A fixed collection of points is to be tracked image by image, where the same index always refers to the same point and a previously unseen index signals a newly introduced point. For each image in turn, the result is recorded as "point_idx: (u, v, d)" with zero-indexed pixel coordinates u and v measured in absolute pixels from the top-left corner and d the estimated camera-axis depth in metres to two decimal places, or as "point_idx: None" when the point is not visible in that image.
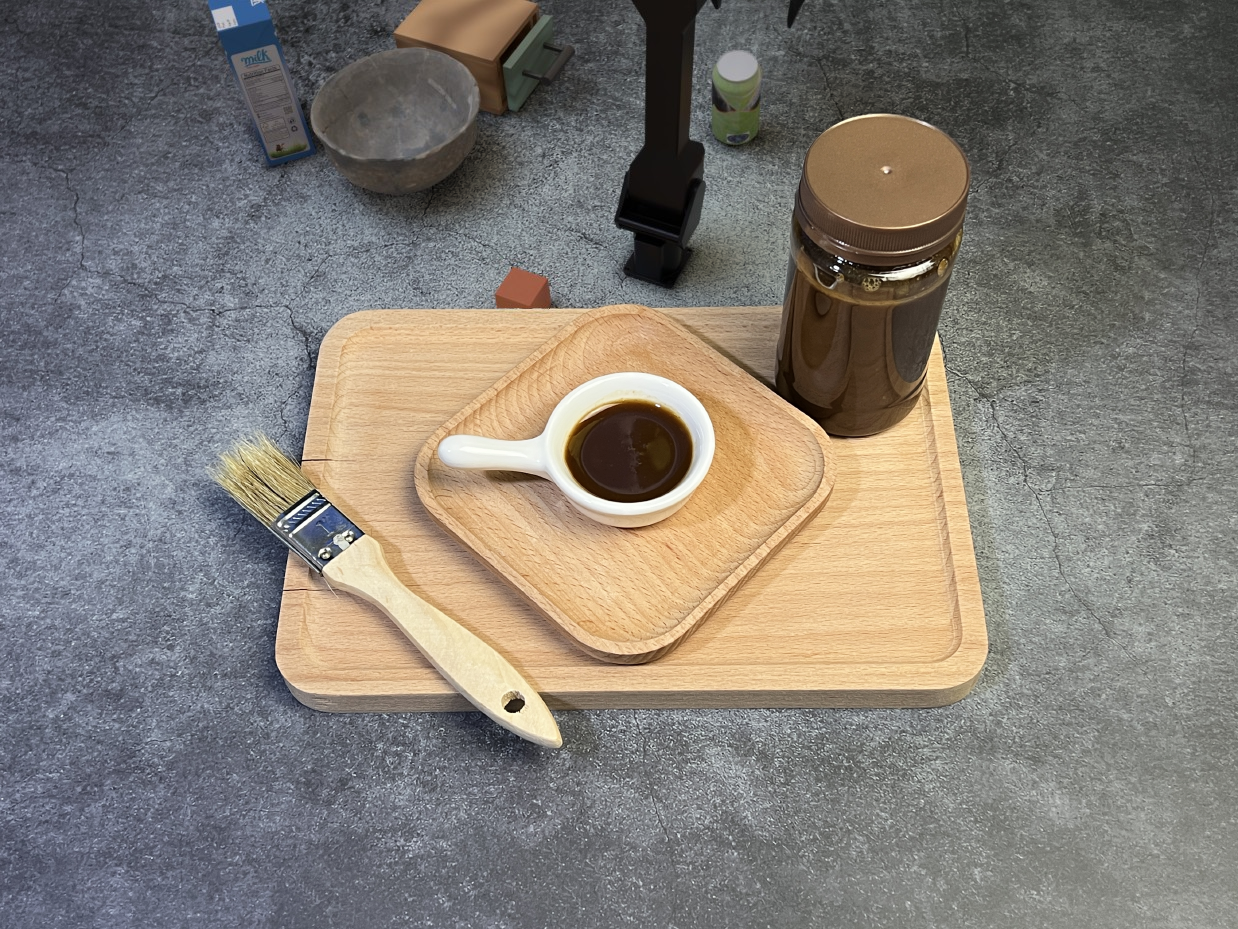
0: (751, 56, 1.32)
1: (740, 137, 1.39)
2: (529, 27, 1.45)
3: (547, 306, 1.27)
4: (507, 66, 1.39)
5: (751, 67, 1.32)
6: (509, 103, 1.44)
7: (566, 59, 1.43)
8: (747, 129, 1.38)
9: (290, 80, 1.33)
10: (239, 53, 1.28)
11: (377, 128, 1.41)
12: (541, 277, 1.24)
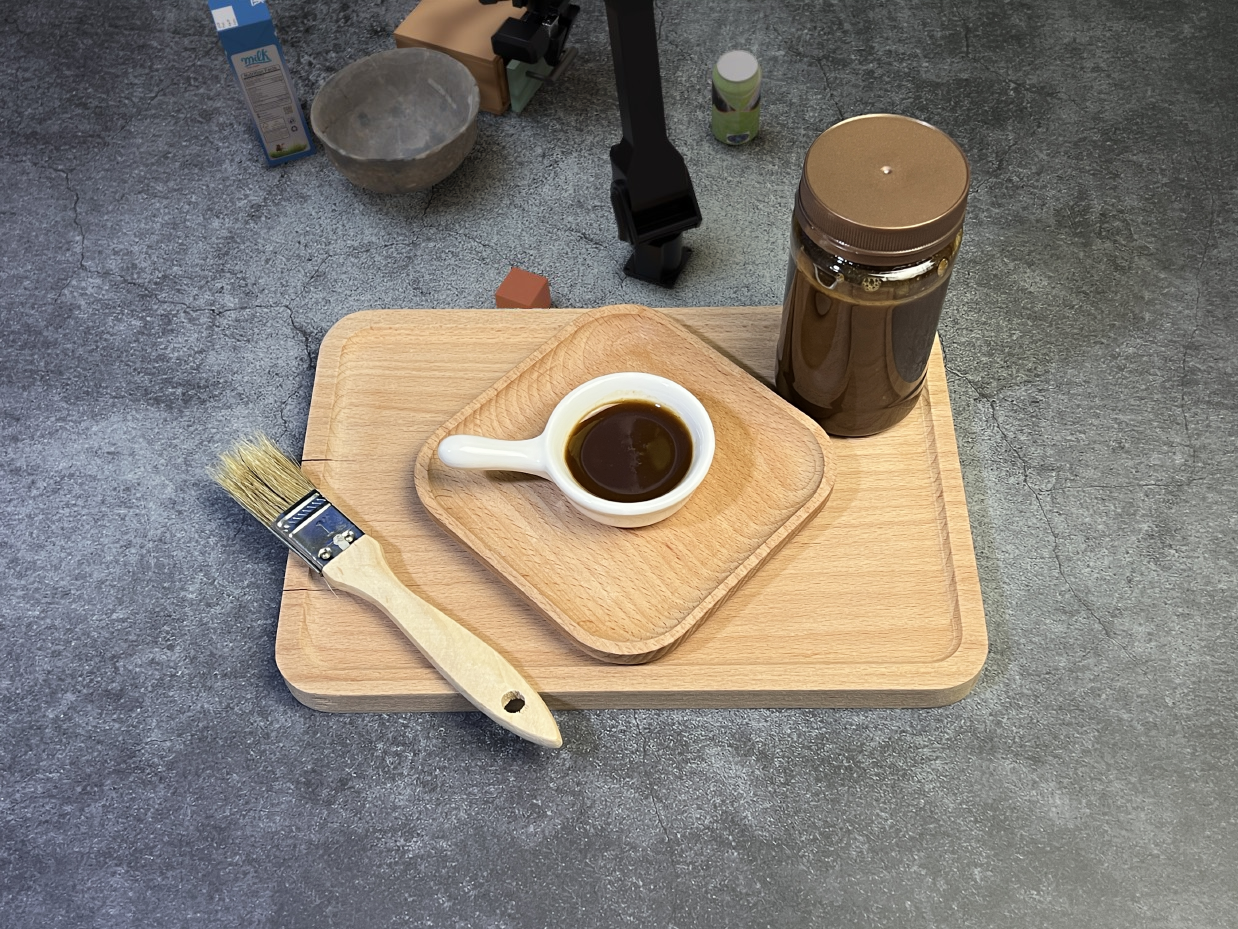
0: (751, 56, 1.32)
1: (740, 137, 1.39)
2: None
3: (547, 306, 1.27)
4: (511, 67, 1.39)
5: (751, 67, 1.32)
6: (512, 104, 1.44)
7: (570, 60, 1.43)
8: (747, 129, 1.38)
9: (290, 80, 1.33)
10: (239, 53, 1.28)
11: (377, 128, 1.41)
12: (541, 277, 1.24)
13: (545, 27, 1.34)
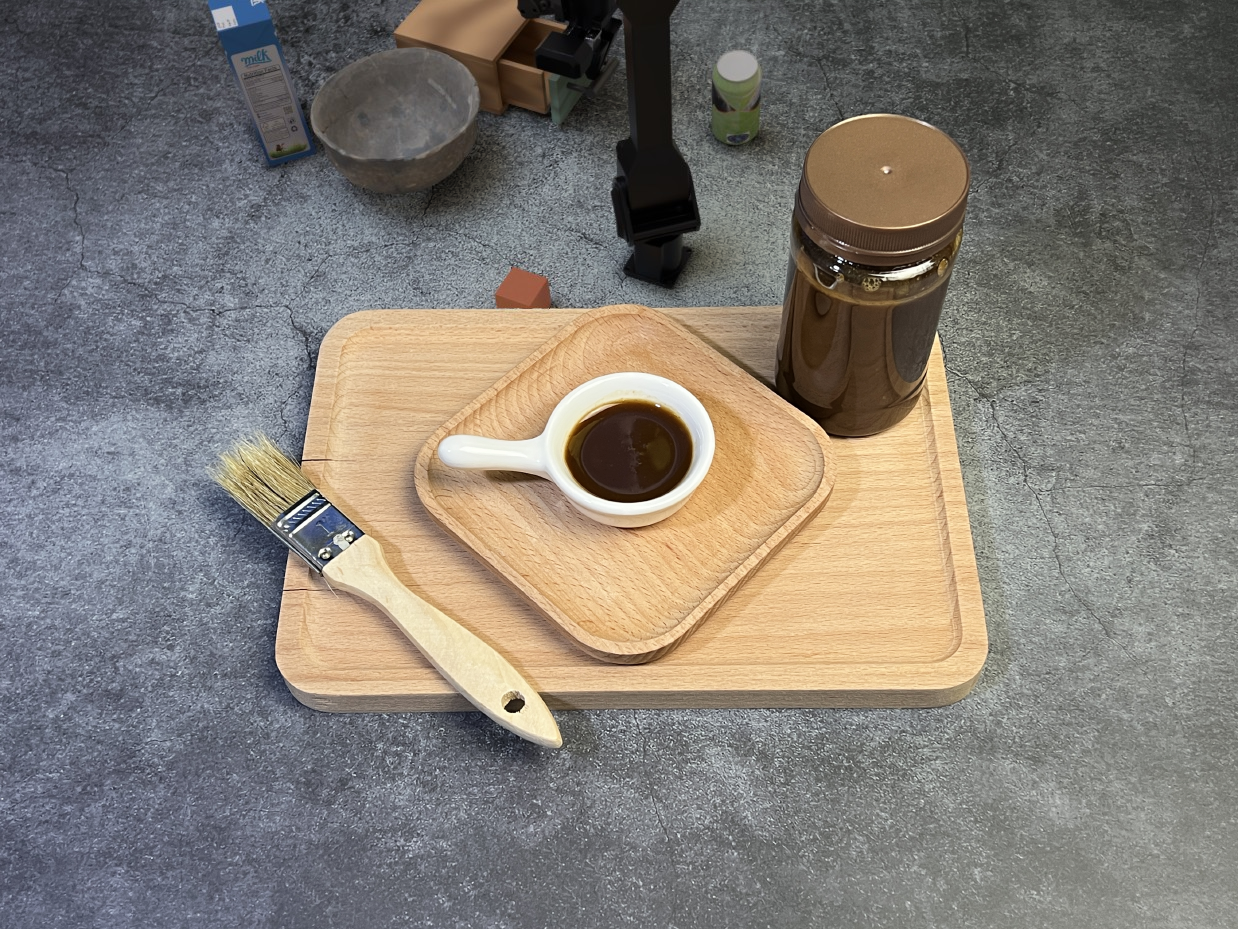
0: (751, 56, 1.32)
1: (740, 137, 1.39)
2: None
3: (547, 306, 1.27)
4: (552, 79, 1.37)
5: (751, 67, 1.32)
6: (553, 116, 1.42)
7: (611, 71, 1.41)
8: (747, 129, 1.38)
9: (290, 80, 1.33)
10: (239, 53, 1.28)
11: (377, 128, 1.41)
12: (541, 277, 1.24)
13: (588, 41, 1.33)
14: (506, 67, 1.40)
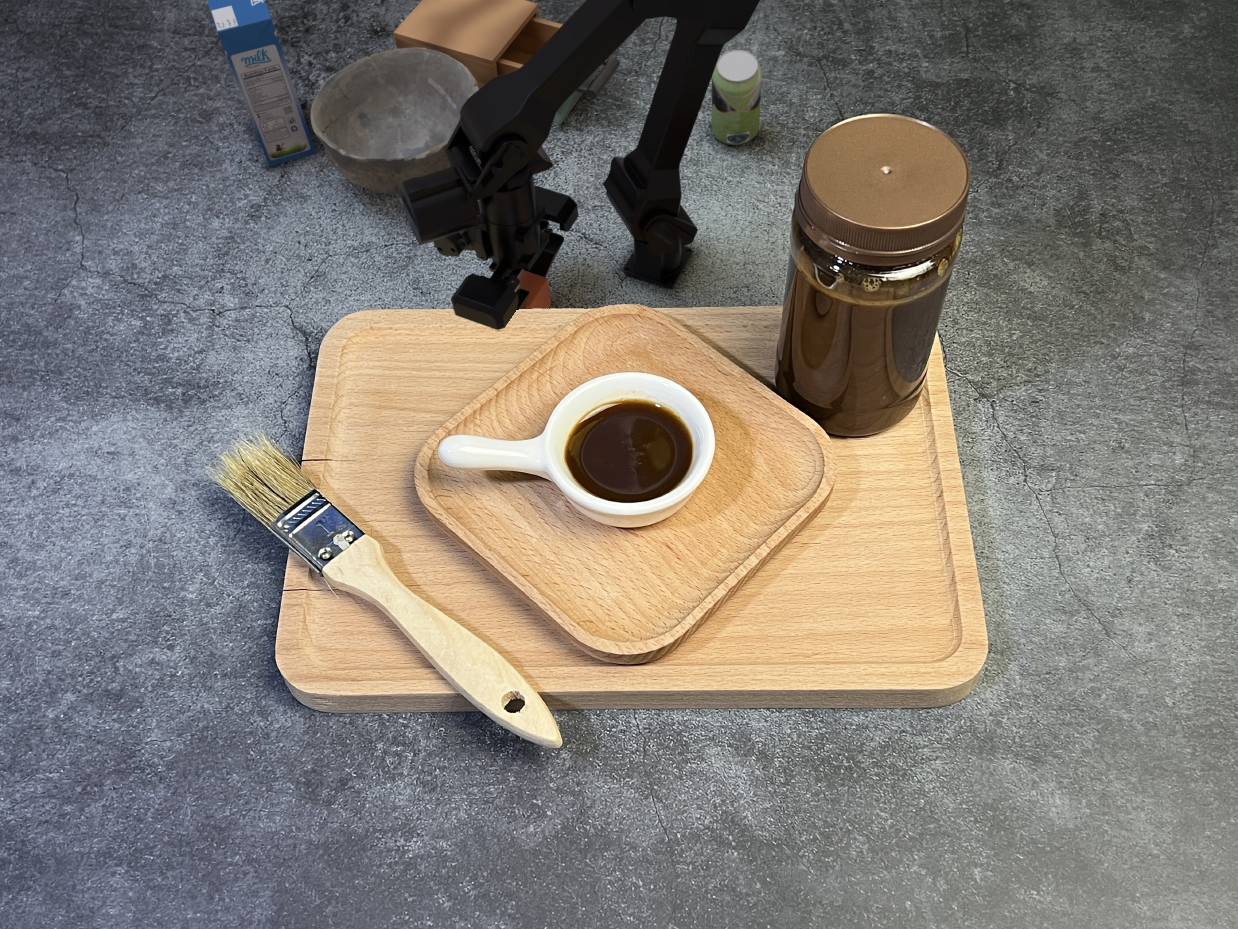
0: (751, 56, 1.32)
1: (740, 137, 1.39)
2: None
3: (547, 306, 1.27)
4: None
5: (751, 67, 1.32)
6: None
7: (611, 71, 1.41)
8: (747, 129, 1.38)
9: (290, 80, 1.33)
10: (239, 53, 1.28)
11: (377, 128, 1.41)
12: (541, 277, 1.24)
13: None
14: (506, 67, 1.40)
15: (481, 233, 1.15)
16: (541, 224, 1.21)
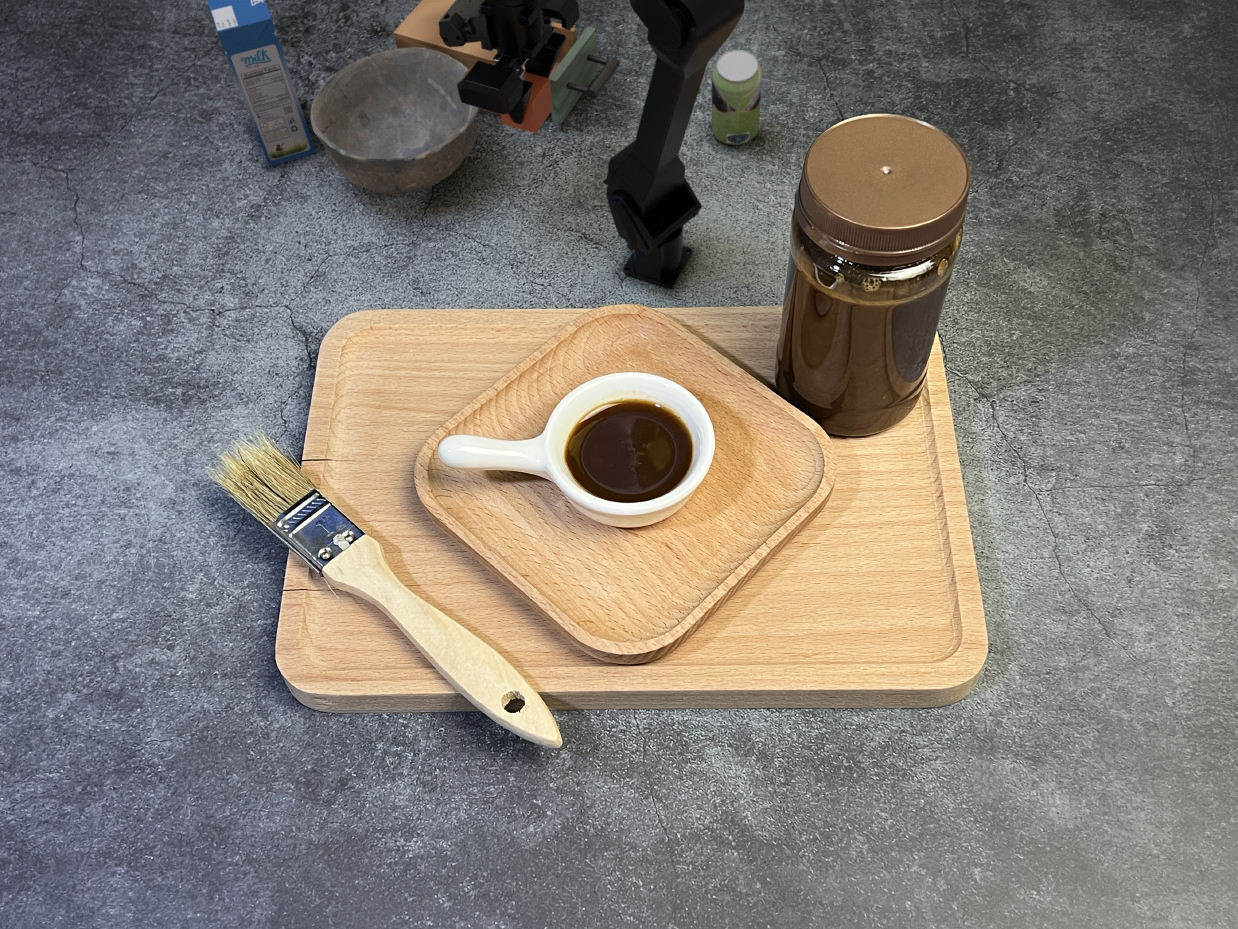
0: (751, 56, 1.32)
1: (740, 137, 1.39)
2: (573, 39, 1.44)
3: (548, 110, 1.30)
4: (552, 79, 1.37)
5: (751, 67, 1.32)
6: (553, 116, 1.42)
7: (611, 71, 1.41)
8: (747, 129, 1.38)
9: (290, 80, 1.33)
10: (239, 53, 1.28)
11: (377, 128, 1.41)
12: (543, 77, 1.27)
13: None
14: None
15: (486, 19, 1.18)
16: (543, 21, 1.24)
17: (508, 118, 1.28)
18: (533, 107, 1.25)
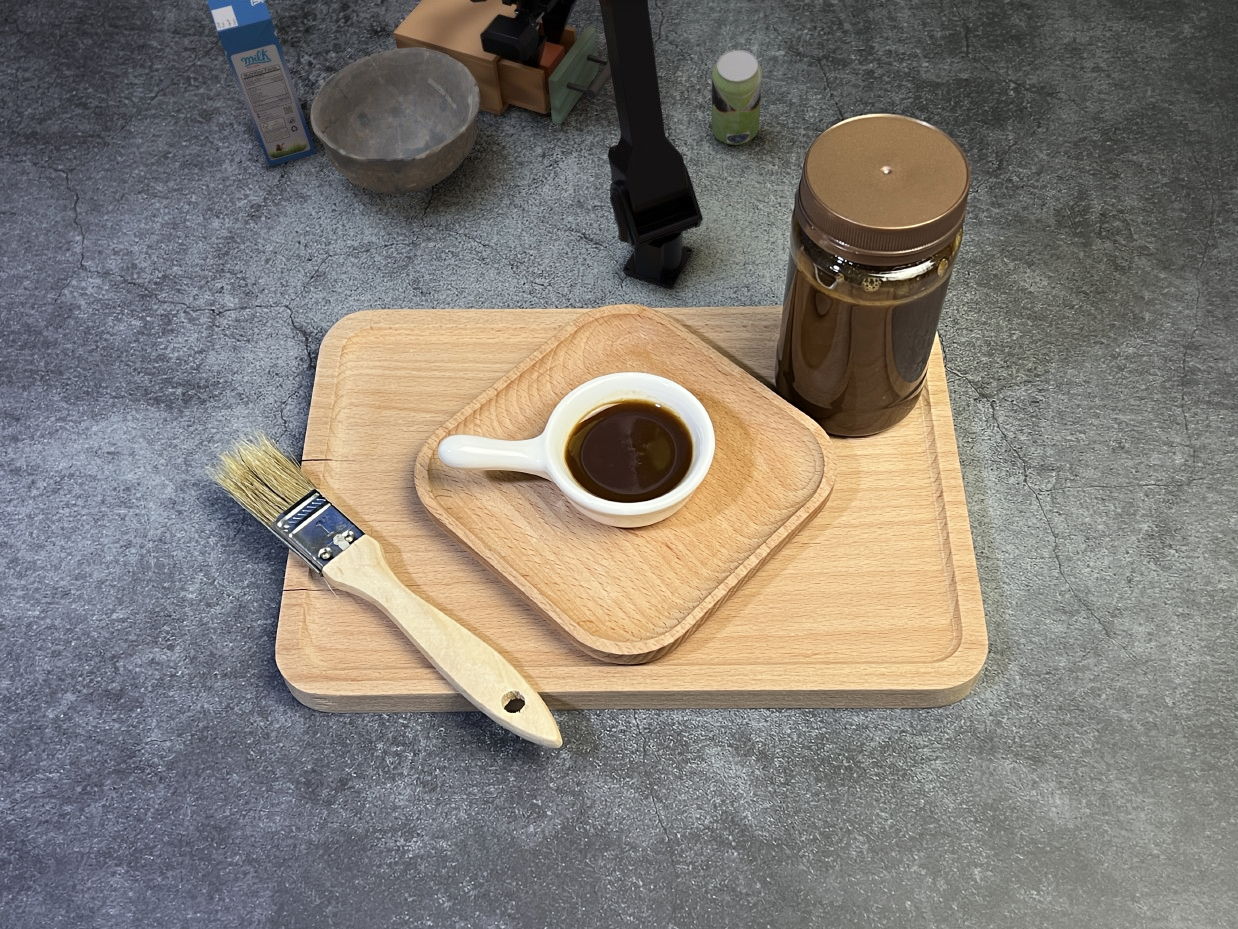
0: (751, 56, 1.32)
1: (740, 137, 1.39)
2: (573, 39, 1.44)
3: None
4: (552, 79, 1.37)
5: (751, 67, 1.32)
6: (553, 116, 1.42)
7: None
8: (747, 129, 1.38)
9: (290, 80, 1.33)
10: (239, 53, 1.28)
11: (377, 128, 1.41)
12: (558, 45, 1.43)
13: None
14: (506, 67, 1.40)
15: None
16: None
17: None
18: (549, 72, 1.41)
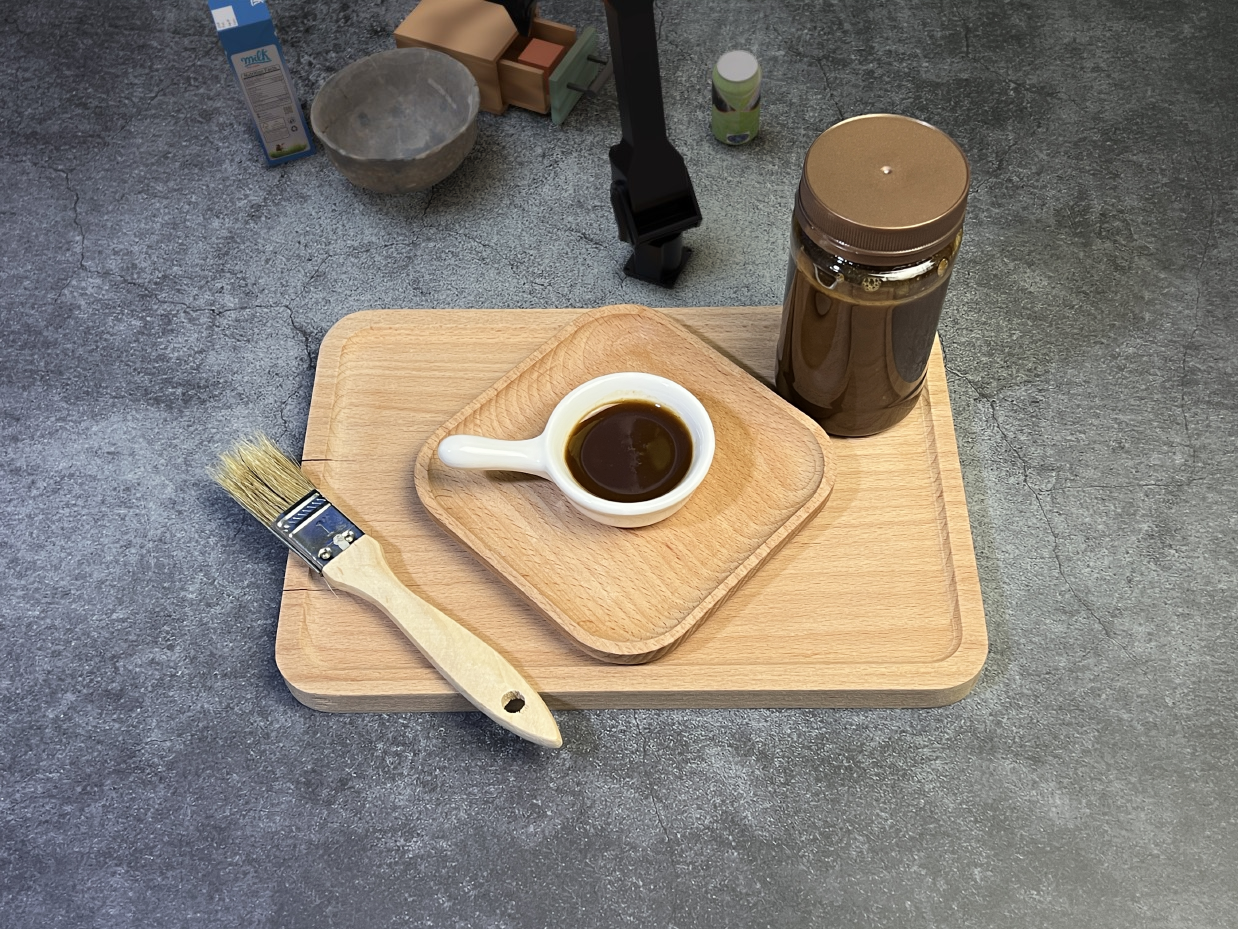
0: (751, 56, 1.32)
1: (740, 137, 1.39)
2: (573, 39, 1.44)
3: None
4: (552, 79, 1.37)
5: (751, 67, 1.32)
6: (553, 116, 1.42)
7: (611, 71, 1.41)
8: (747, 129, 1.38)
9: (290, 80, 1.33)
10: (238, 53, 1.28)
11: (377, 128, 1.41)
12: (558, 45, 1.43)
13: None
14: (506, 67, 1.40)
15: None
16: None
17: None
18: (549, 72, 1.41)
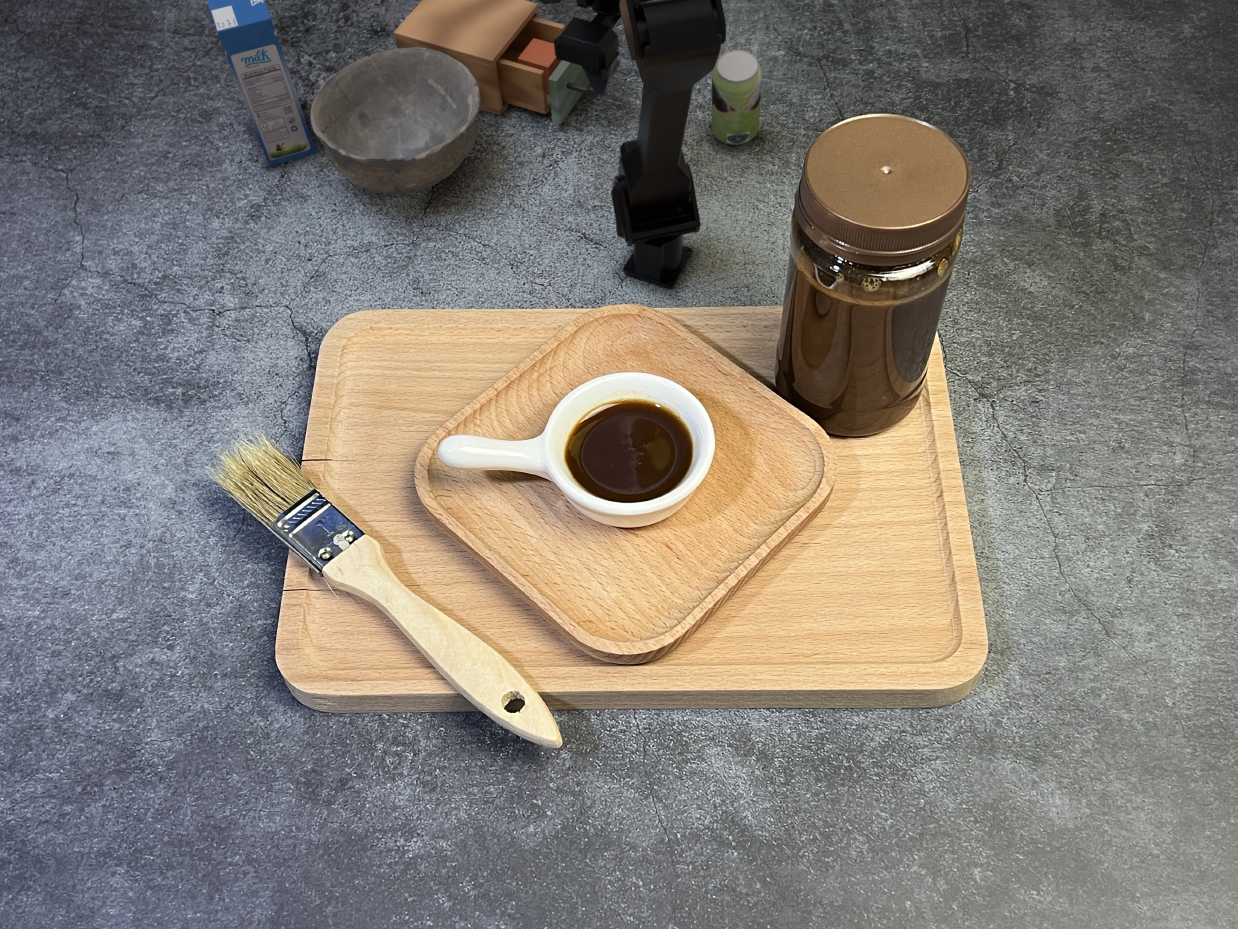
0: (751, 56, 1.32)
1: (740, 137, 1.39)
2: None
3: None
4: (552, 79, 1.37)
5: (751, 67, 1.32)
6: (553, 116, 1.42)
7: None
8: (747, 129, 1.38)
9: (290, 80, 1.33)
10: (238, 53, 1.28)
11: (377, 128, 1.41)
12: None
13: None
14: (506, 67, 1.40)
15: None
16: None
17: None
18: (549, 72, 1.41)
